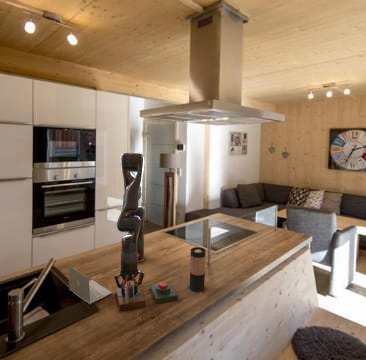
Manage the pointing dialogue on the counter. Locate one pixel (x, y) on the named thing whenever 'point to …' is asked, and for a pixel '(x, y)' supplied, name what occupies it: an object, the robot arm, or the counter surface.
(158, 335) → the counter surface
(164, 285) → the red button
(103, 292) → the laptop
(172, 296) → the button block
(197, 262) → the travel mug
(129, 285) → the grip knob
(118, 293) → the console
